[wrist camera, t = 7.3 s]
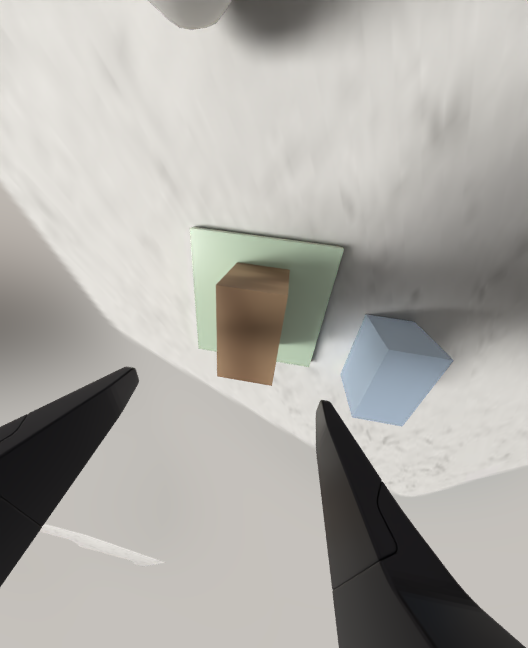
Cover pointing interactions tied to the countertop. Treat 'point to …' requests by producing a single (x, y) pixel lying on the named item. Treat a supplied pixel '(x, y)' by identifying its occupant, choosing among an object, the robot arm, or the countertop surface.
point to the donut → (192, 12)
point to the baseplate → (297, 256)
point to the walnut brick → (250, 321)
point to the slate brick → (391, 369)
